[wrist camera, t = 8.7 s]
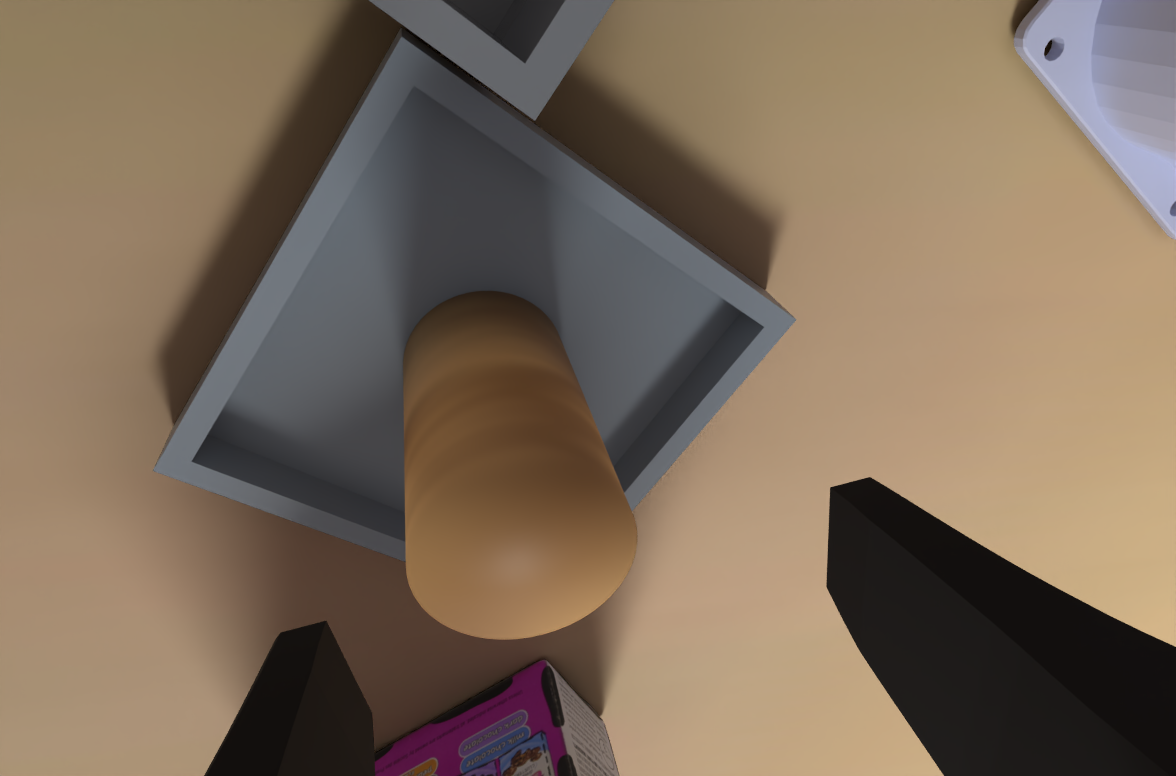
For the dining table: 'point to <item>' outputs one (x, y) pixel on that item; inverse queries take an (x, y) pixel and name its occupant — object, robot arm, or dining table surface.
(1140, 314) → the dining table surface
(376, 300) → the tray
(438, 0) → the grey square box
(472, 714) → the candy bar box
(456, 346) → the dowel
